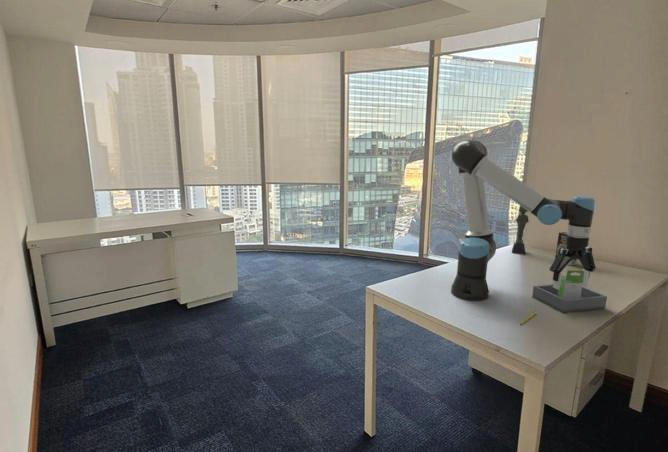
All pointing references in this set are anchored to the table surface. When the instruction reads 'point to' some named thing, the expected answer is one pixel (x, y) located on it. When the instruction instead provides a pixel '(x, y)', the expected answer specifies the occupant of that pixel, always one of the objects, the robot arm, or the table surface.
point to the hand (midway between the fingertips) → (569, 287)
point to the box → (584, 303)
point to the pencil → (528, 318)
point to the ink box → (571, 285)
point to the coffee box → (563, 246)
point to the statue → (520, 232)
